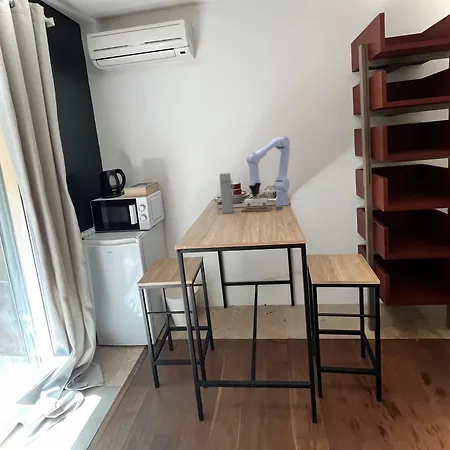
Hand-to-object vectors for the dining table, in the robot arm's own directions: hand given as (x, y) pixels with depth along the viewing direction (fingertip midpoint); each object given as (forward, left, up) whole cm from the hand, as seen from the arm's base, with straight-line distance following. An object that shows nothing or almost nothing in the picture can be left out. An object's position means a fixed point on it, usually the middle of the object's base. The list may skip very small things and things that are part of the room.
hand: (255, 195), depth 242 cm
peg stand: (0, 0, -10) cm, 10 cm away
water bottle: (+4, -17, -10) cm, 20 cm away
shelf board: (0, 0, -4) cm, 4 cm away
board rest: (-2, +14, -10) cm, 17 cm away
